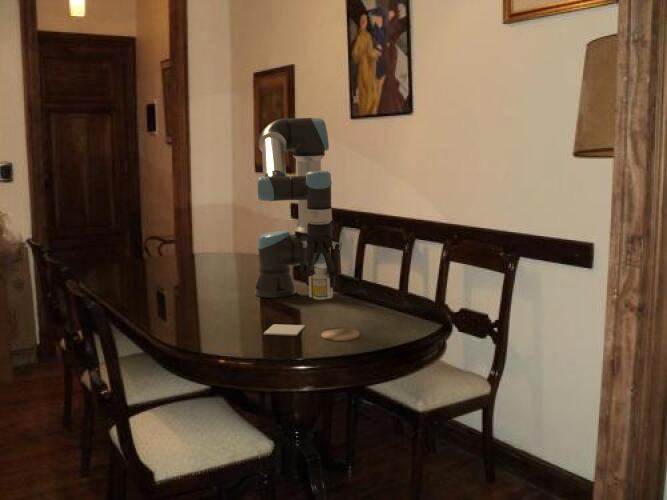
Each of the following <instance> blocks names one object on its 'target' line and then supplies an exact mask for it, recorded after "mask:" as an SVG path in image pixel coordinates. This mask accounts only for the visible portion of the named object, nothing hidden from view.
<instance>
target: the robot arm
mask: <svg viewBox="0 0 667 500" xmlns="http://www.w3.org/2000/svg"><path fill="white" fill-rule="evenodd" d="M327 130H328V129H327V125H326V122H325V120H324V119H323V118H320V117H297V118H296V117H295V118H294V117H293V118H287V117H286V118H279V119H276V120H274V121H272V122H270V123H269V124H267V125H266V126H265V128H263V130H262V132H261V133H260V135H259V138H258V148H259V150H260V152H261V153H262V156H261V157H262V176H259V177H258V178H257V199H258V200H259V201H261V202H262V201H264V202H275V201H276V202H277V201H279V202H281V201H297V203H298V205H297V207H298V225H297V227H296V228H294V234H290V232H289V230H278V231H272V232H270V231H269V232H267V233H264V234H261V235H260V236H258V240H257V250H258V277H257V282H256V284H255V289H254V294H255V296H257V297H259V298H260V297H261V298H268V299H269V298H270V299H271V298H273V299H274V298H287V297H290V296H294V295H295V294H296V285H295V282H294V280H293V277H292V274H291V266H293V267H294V266H299V272H300V274H303V275H305V277H306V280H305V281H306V282H305V283H306V284H305V285H306V287H307V286H308V289H309V290H308V294H309V295H308V296H309V297H308V298H313V283H312V276H313V274H314V272H313V271H314V267H315V266H319V265H324V264H325V266H326V267H327V273H328V274H329V277H328V278H327V299H331V298H333V297H334V289H333V288H335V287H336V277H337V276H339V275H341V274H342V262H341V260H342V258H341V249H342V246H343V244H342V242H336V241H334V239H333V223H332V221H333V213H332V211H333V210H332V183H333V182H332V175H331V172H329V171H327V170H322V165H321V164H322V160H323V159H324V157H325V154H326V152H327V151H329V149H330V145H329V136H328V131H327ZM285 152H292V157H293V158H294V159H296V161H297V163H296V164H297V168H296V169H297V175H293V176H292V175H291V176H289V175H288V176H287V167H286V157H285ZM331 247H332V249H333V259H332V255H331V254H332V252H331ZM327 299H326V300H327Z"/></svg>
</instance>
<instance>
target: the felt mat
mask: <svg viewBox="0 0 667 500" xmlns="http://www.w3.org/2000/svg"><path fill="white" fill-rule="evenodd" d="M305 327H306V326H305V325H304V324H277V323H276V324H275V323H274V324H272V325H270V326H269V328H268V329H267V330H265V331H264V332H263V336H264V335H267V336H268V335H269V336H293V337H296V336H298V335H299V334H300V333H301V331H303V329H304V328H305Z"/></svg>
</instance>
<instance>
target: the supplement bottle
mask: <svg viewBox="0 0 667 500" xmlns="http://www.w3.org/2000/svg"><path fill="white" fill-rule="evenodd" d="M313 271H314V273H313V274H312V275H313V276H312V283H313V297H312V298H313V299H315V300H327V278H328V277H329V273H328V270H327V266H326V265H315V266H314V268H313Z"/></svg>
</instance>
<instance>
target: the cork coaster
mask: <svg viewBox="0 0 667 500" xmlns="http://www.w3.org/2000/svg"><path fill="white" fill-rule="evenodd" d="M359 337H360V332H359V331H358V330H356V329H351V328H331V329H327V330H324V331H322V332H321V338H322V339H324V340H327V341H334V342H346V341H351V340H352V341H353V340H355V339H356V340H357V339H358V338H359Z"/></svg>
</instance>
